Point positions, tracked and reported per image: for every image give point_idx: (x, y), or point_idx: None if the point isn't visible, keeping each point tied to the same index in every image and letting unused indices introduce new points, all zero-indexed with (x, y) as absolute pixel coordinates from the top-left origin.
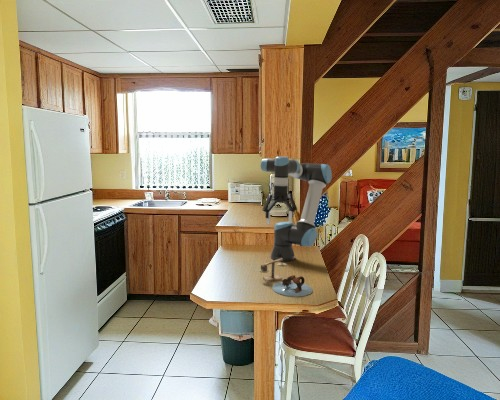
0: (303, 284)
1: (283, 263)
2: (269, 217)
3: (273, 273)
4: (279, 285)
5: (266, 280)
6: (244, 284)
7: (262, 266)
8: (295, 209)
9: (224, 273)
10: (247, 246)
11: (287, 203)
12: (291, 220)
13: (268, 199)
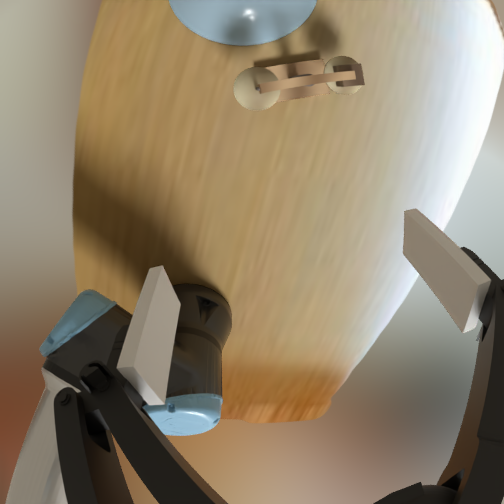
0: (185, 12)
1: (246, 99)
2: (453, 247)
3: (296, 75)
4: (285, 10)
5: (323, 65)
6: (400, 60)
7: (361, 67)
8: (72, 395)
9: (428, 178)
10: (274, 396)
11: (194, 496)
12: (149, 285)
13: None
